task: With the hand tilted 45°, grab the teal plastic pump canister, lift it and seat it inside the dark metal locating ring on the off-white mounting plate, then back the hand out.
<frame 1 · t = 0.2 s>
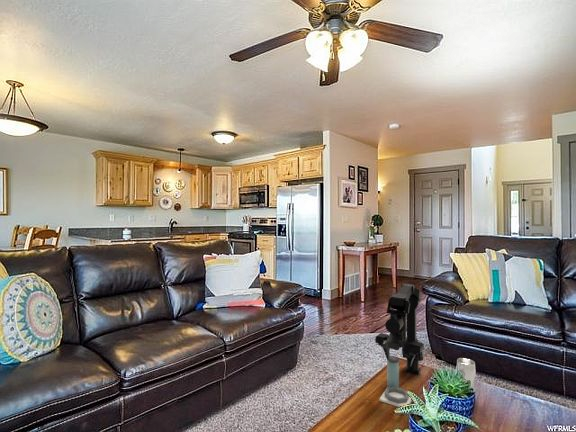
hand: (398, 363, 136), 14 cm above the table, tool pointing down, fingers open, 9 cm apart
mount plate: (396, 398, 135), on the table
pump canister: (392, 386, 145), on the table
beer glass: (465, 397, 136), on the table
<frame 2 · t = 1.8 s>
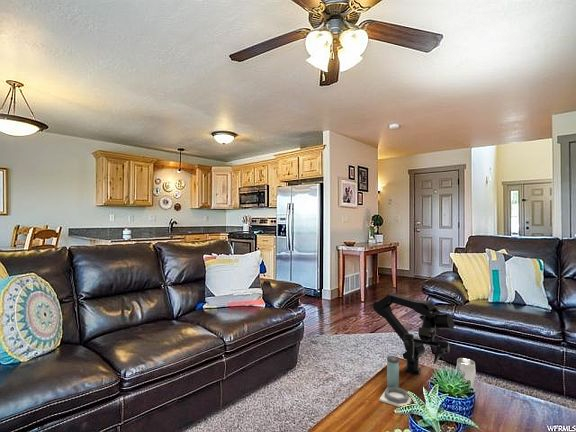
hand: (423, 360, 142), 12 cm above the table, tool tilted 45°, fingers open, 9 cm apart
nothing on the table moved.
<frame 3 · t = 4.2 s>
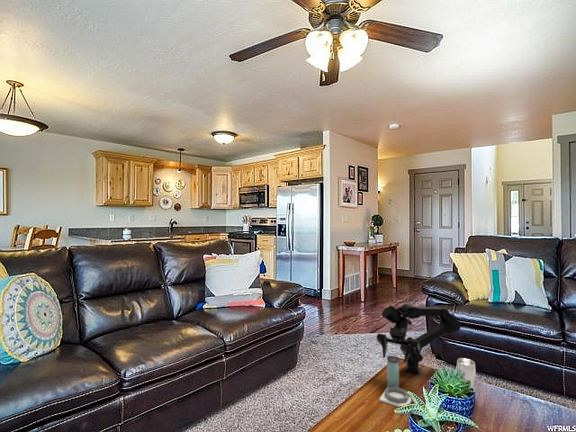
hand: (394, 360, 147), 11 cm above the table, tool tilted 45°, fingers open, 9 cm apart
nothing on the table moved.
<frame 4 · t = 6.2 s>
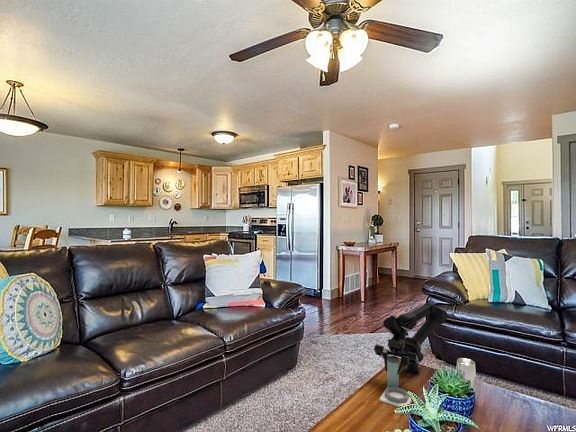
hand: (392, 372, 143), 7 cm above the table, tool tilted 45°, fingers closed on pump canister, 5 cm apart
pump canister: (392, 386, 145), on the table, touching gripper
everything else where it was.
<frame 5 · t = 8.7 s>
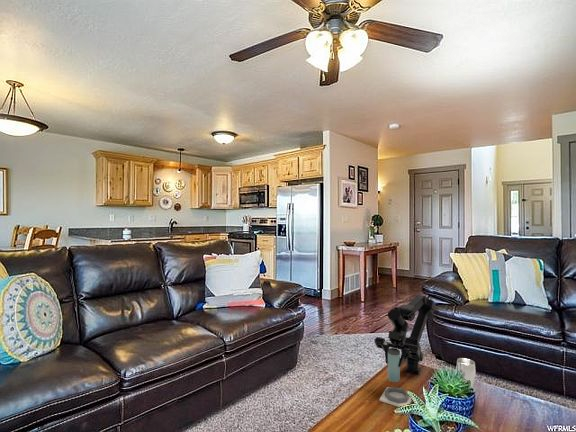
hand: (392, 365, 139), 12 cm above the table, tool tilted 45°, fingers closed on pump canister, 5 cm apart
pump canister: (393, 379, 141), point 5 cm above the table, touching gripper
everything else where it was.
when the fingers open (8 cm above the table, at t = 11.2 s): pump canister stays where it is, resting on mount plate.
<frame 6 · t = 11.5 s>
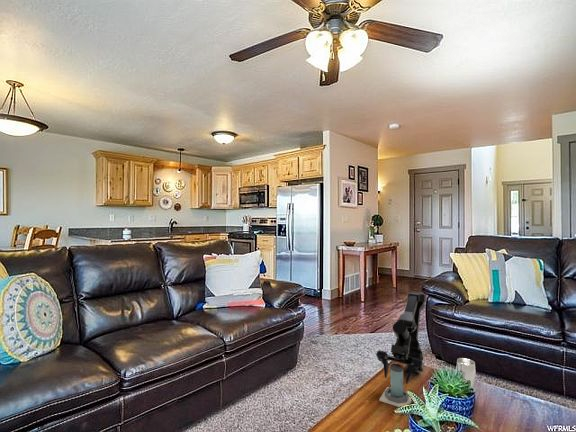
hand: (395, 380, 134), 8 cm above the table, tool tilted 45°, fingers open, 8 cm apart
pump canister: (396, 396, 135), point 1 cm above the table, touching mount plate
everything else where it was.
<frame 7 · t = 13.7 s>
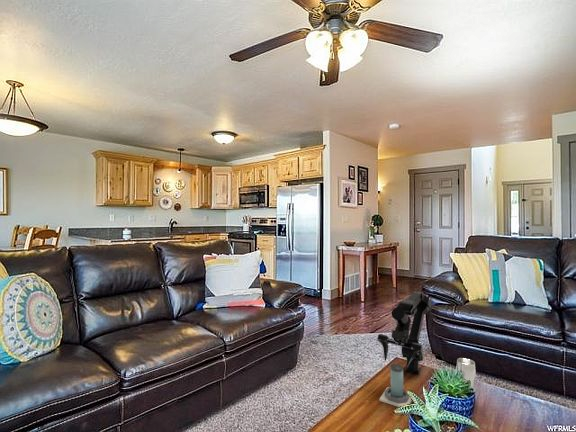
hand: (395, 363, 140), 12 cm above the table, tool tilted 35°, fingers open, 9 cm apart
nothing on the table moved.
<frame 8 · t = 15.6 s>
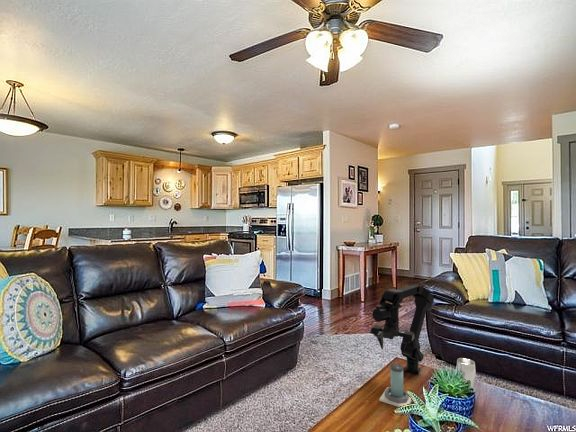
hand: (392, 351, 151), 13 cm above the table, tool pointing down, fingers open, 9 cm apart
nothing on the table moved.
at the end: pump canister 0.1 cm off-centre on the mount plate, point 0.8 cm above the mount plate's base; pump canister tilted 0°; the gripper is holding nothing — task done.
